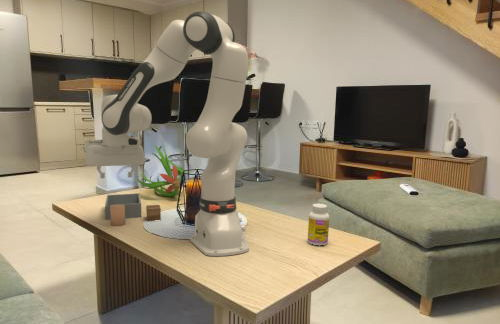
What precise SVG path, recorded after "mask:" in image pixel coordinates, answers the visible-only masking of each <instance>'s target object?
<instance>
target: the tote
mask: <svg viewBox="0 0 500 324" xmlns="http://www.w3.org/2000/svg"><path fill="white" fill-rule="evenodd" d="M114 204H123V205H125V219H132V218H133V219H134V218H135V219H136V218H137V219H138V218H142V201H141V195H140V193H123V194H122V193H121V194H107V195H106V198H105V203H104V207H105V209H104V211H105V213H104V214H105V221H108V220H110V221H111V211H110V206H111V205H114Z"/></svg>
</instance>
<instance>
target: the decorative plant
mask: <svg viewBox="0 0 500 324" xmlns="http://www.w3.org/2000/svg"><path fill="white" fill-rule="evenodd" d="M162 146H163V152H164V153H163V152H162V151H161V148H162ZM154 148H155V150H156V151H157V153H158V155H159V156H158V155H157V154H156V153H153V152H151V153H150V155H151V154H152V155H154V156H155V157H156V158H157V160H159V162H160V163H161V165H162V167H163V168H164V170H165V172H166V173H159V175H160V177H161V178H162V179H163V180H161V181H160V178H159V177H157V179H156V180H157V181H153V180H152V177H153V175H150V177H149V179H148V178H147V177H146V176H145V171H143V172H142V177H143V178H142V179H139V178H138V177H140V176H137V178H136V179H137V181H138V183H139V184H140V187H141V188H143V189H147V190H148V189H149V190H153V191H154V192H155V193H156V194H158V195H159V196H163V197H168V198H174V197H177V195H179V194H178V193H179V190H180V189H179V188H180V180H182V179H181V175H182V172H183V171H184V170H185V169H184V168H182V167H181V166H180V165H178V164H177V162H175V163H176V164H177V165H176V164H175V163H174V162H172V161H171V160H170V159H169V157H168V154H167V151H166V149H165V145H160V146H159V148H158V146H157V145H154ZM171 166H172V168H171ZM184 172H185V171H184ZM165 186H168V187H167V188H165Z"/></svg>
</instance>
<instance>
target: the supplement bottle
mask: <svg viewBox="0 0 500 324" xmlns="http://www.w3.org/2000/svg"><path fill="white" fill-rule="evenodd" d="M327 210H328V205H327V204H324V203H313V204H312V211H310V212H309V214H308V227H307V228H308V229H307V242H308V243H309V244H310V245H312V244H313V246H315V245H324V246H326V245H328V242H329V232H330V231H329V229H330V214H329V213H328V212H327ZM325 244H326V245H325Z"/></svg>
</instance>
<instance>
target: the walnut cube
mask: <svg viewBox="0 0 500 324" xmlns="http://www.w3.org/2000/svg"><path fill="white" fill-rule="evenodd" d="M145 207H146V210H145V211H146V221H147V222H156V221H155V220H160V221H162V218H161V217H162V215H161V210H162V209H161V205H160V204H151V205H150V204H148V205H146V206H145Z"/></svg>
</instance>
